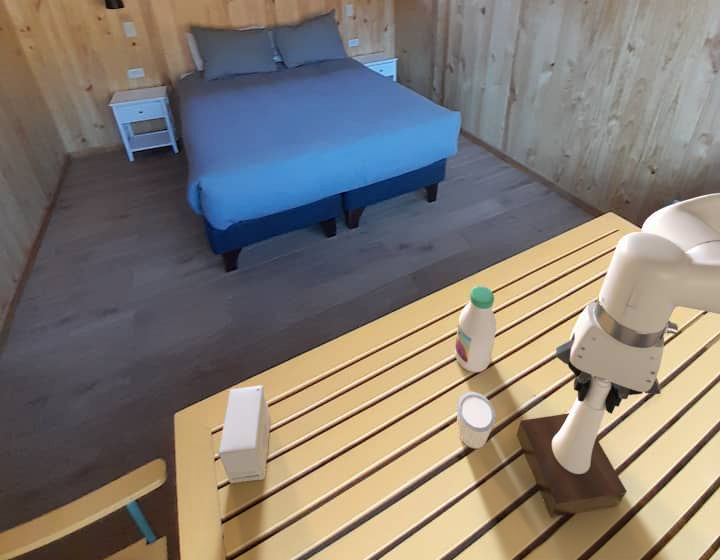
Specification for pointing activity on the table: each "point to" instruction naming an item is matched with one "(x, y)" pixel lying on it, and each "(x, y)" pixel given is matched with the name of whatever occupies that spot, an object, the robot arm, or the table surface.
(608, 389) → the cosmetic bottle
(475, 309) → the milk bottle
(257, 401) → the cosmetics box
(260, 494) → the table surface
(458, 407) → the white yogurt cup
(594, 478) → the block
